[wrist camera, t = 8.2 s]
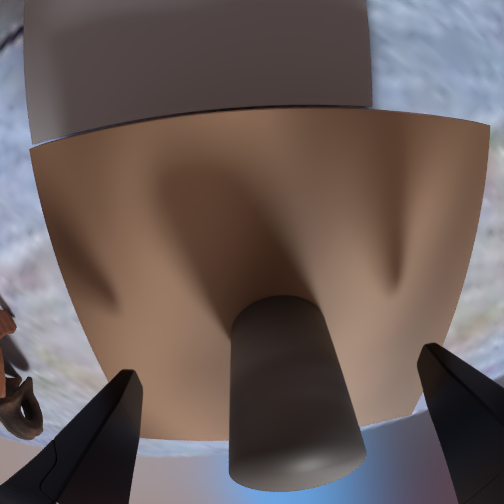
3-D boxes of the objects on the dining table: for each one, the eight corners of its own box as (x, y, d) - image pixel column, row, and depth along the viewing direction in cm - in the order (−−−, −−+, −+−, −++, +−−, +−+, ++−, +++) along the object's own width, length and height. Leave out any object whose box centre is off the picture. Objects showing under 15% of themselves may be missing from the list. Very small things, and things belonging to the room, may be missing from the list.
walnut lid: (472, 121, 8) (614, 171, 3) (405, 400, 15) (441, 491, 9) (46, 142, 8) (-99, 211, 3) (143, 422, 15) (125, 522, 9)
